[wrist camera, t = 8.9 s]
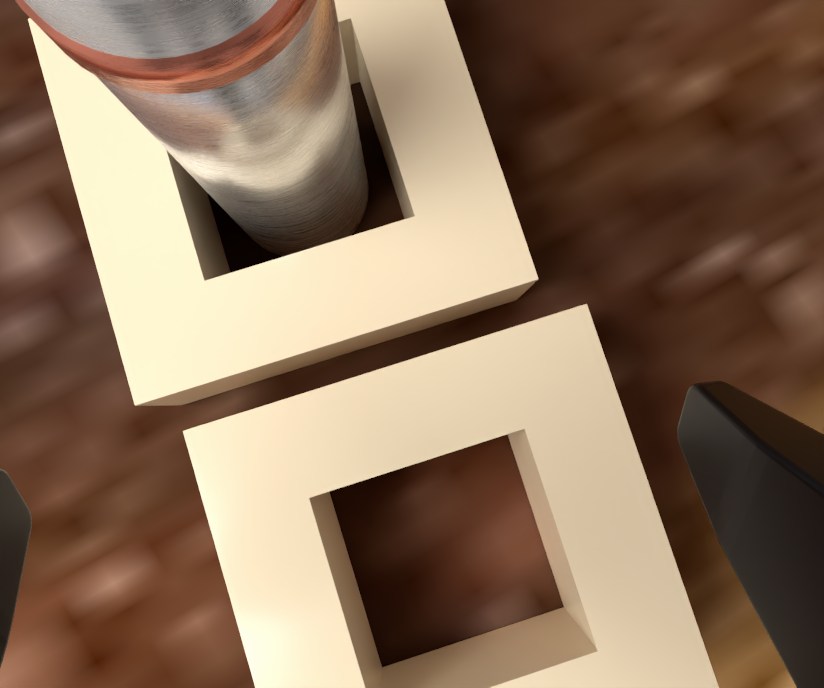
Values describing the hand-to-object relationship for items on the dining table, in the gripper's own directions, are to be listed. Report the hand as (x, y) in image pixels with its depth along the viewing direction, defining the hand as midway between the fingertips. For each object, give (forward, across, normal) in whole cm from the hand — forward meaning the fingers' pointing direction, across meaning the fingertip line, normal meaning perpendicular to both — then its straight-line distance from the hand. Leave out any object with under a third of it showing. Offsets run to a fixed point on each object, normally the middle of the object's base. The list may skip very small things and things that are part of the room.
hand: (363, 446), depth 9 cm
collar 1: (+14, +1, +2) cm, 14 cm away
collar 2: (+6, -2, +10) cm, 12 cm away
